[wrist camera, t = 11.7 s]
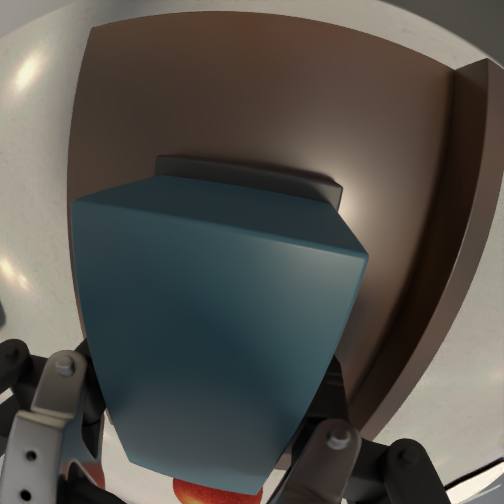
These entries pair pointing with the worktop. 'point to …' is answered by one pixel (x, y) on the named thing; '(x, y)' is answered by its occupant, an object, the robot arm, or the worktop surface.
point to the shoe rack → (315, 158)
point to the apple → (211, 494)
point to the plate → (474, 484)
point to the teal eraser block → (213, 311)
